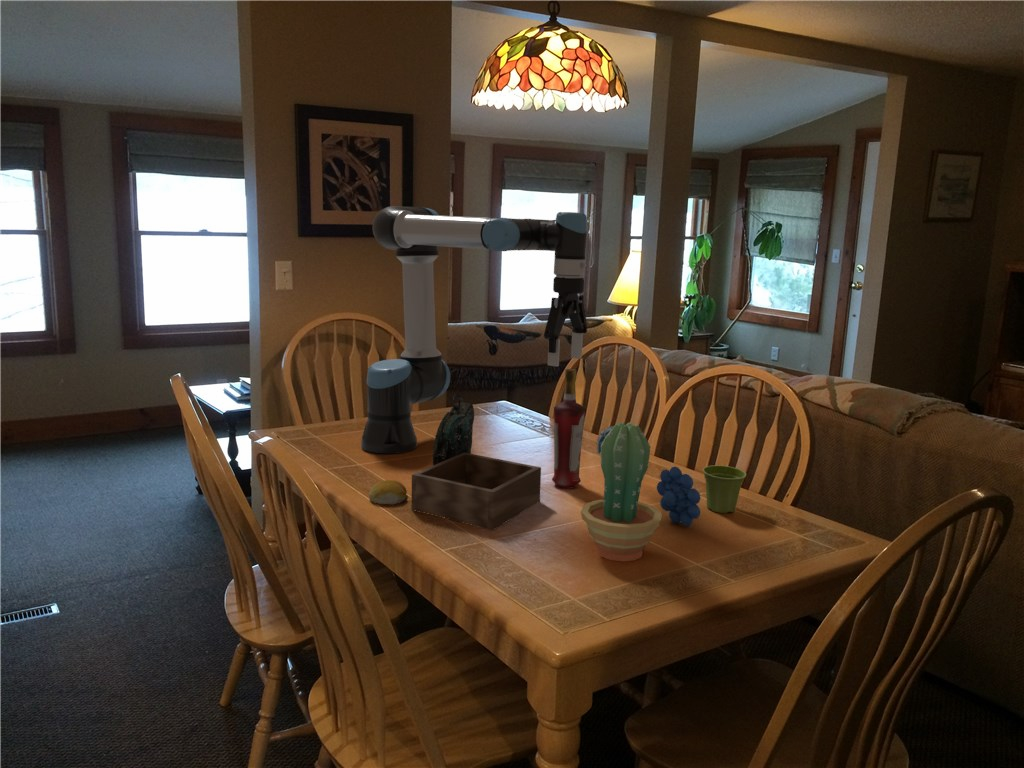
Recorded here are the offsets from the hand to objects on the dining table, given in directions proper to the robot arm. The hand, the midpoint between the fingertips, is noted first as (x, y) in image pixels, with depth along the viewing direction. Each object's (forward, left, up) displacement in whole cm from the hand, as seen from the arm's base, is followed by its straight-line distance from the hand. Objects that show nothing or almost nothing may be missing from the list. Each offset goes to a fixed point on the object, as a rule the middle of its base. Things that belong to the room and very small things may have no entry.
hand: (565, 362), depth 200 cm
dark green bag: (-18, -21, -28) cm, 39 cm away
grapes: (+38, -22, -28) cm, 52 cm away
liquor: (+8, -12, -28) cm, 31 cm away
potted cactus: (+34, -42, -28) cm, 61 cm away
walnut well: (-2, -36, -27) cm, 46 cm away
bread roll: (-21, -43, -28) cm, 56 cm away
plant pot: (+44, -7, -28) cm, 52 cm away
